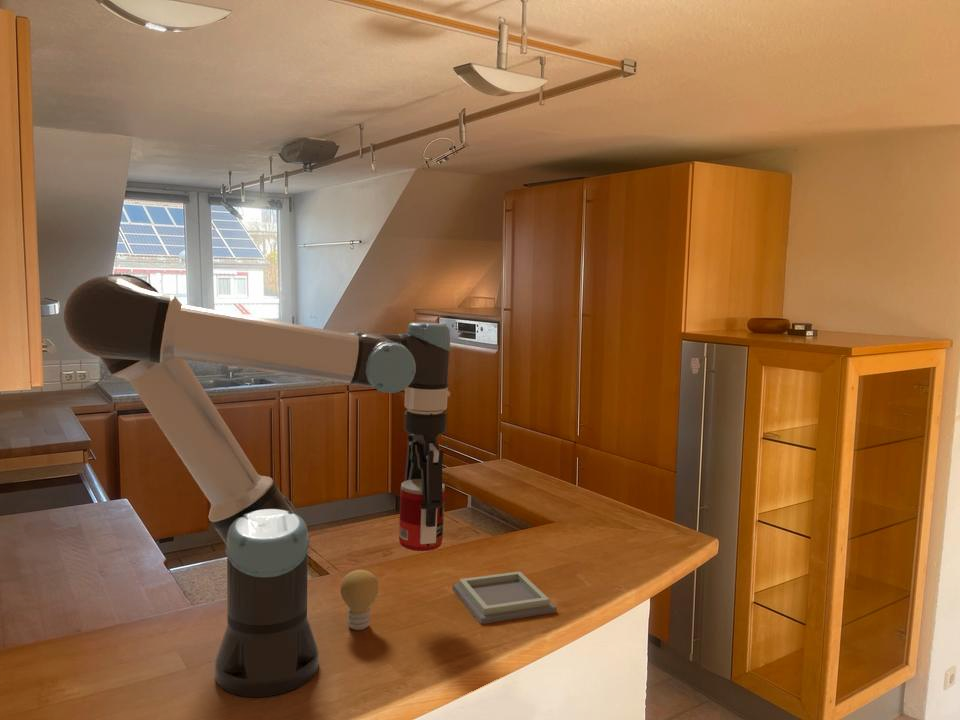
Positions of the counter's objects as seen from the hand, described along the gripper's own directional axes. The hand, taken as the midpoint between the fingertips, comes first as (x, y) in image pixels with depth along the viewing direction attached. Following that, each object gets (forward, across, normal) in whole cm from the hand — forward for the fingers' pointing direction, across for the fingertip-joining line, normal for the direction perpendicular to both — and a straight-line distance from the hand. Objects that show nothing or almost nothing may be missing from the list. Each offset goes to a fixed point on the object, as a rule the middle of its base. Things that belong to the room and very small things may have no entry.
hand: (420, 534), depth 129 cm
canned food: (+2, 0, 0) cm, 2 cm away
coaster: (+14, -1, -16) cm, 22 cm away
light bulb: (+15, -3, +12) cm, 19 cm away
